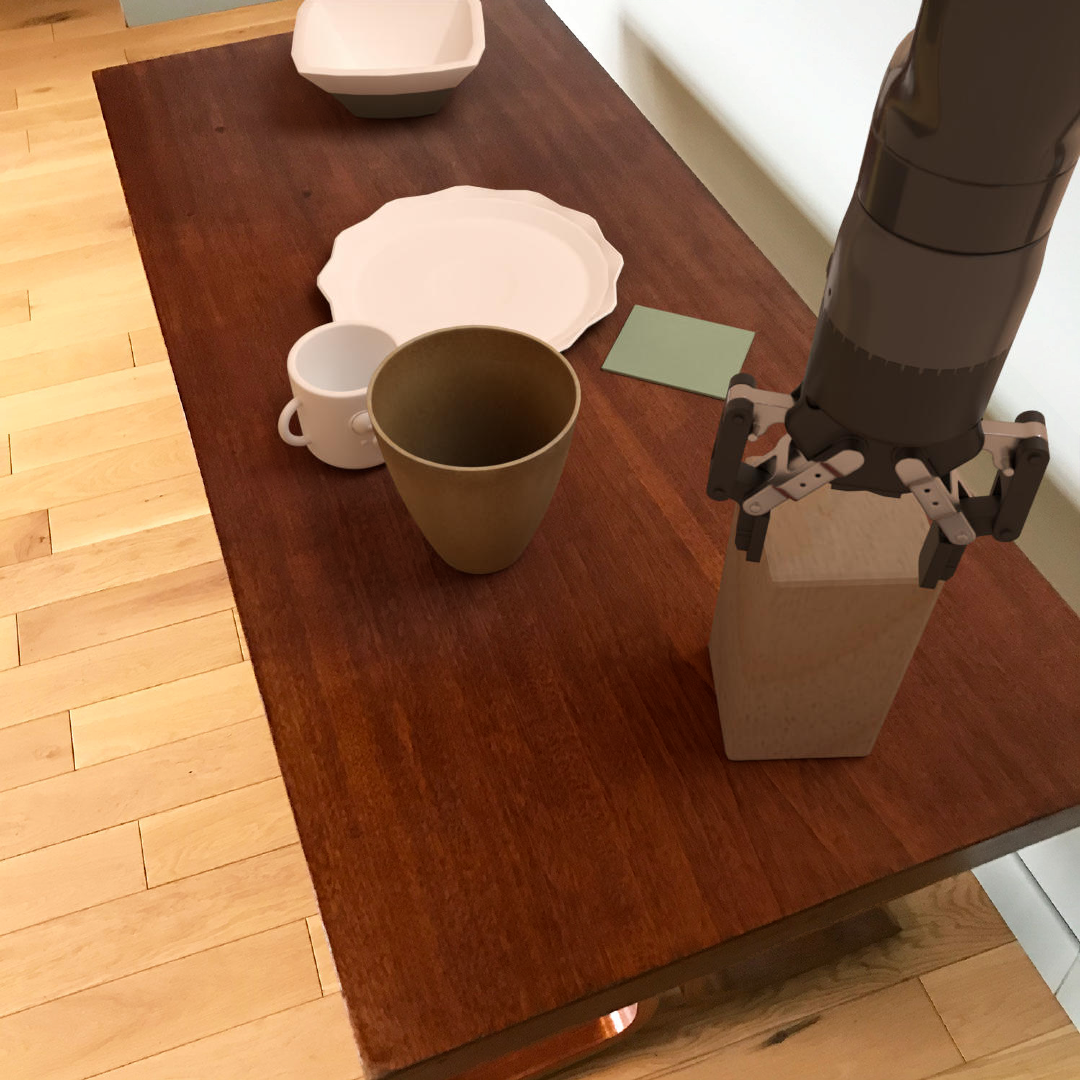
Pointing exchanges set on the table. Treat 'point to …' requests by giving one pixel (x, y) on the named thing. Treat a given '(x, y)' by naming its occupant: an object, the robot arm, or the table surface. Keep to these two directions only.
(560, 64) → the table surface
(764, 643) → the wooden block
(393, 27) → the bowl
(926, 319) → the robot arm
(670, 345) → the mat
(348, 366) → the mug
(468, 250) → the plate
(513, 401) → the plant pot
